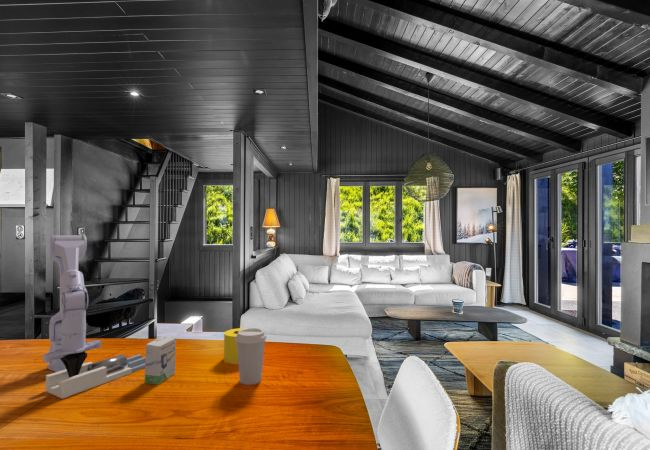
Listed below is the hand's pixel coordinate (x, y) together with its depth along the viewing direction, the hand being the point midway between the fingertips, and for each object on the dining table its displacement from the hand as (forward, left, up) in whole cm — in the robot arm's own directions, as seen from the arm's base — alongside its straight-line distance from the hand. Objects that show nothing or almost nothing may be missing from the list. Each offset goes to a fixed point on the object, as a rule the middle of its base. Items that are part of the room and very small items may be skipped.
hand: (73, 379), depth 106 cm
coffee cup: (+41, +30, -3) cm, 51 cm away
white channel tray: (0, +5, -3) cm, 6 cm away
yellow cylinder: (+25, +42, -3) cm, 49 cm away
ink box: (+16, +17, -3) cm, 24 cm away
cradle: (0, +19, -3) cm, 19 cm away
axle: (+1, +9, +1) cm, 10 cm away
